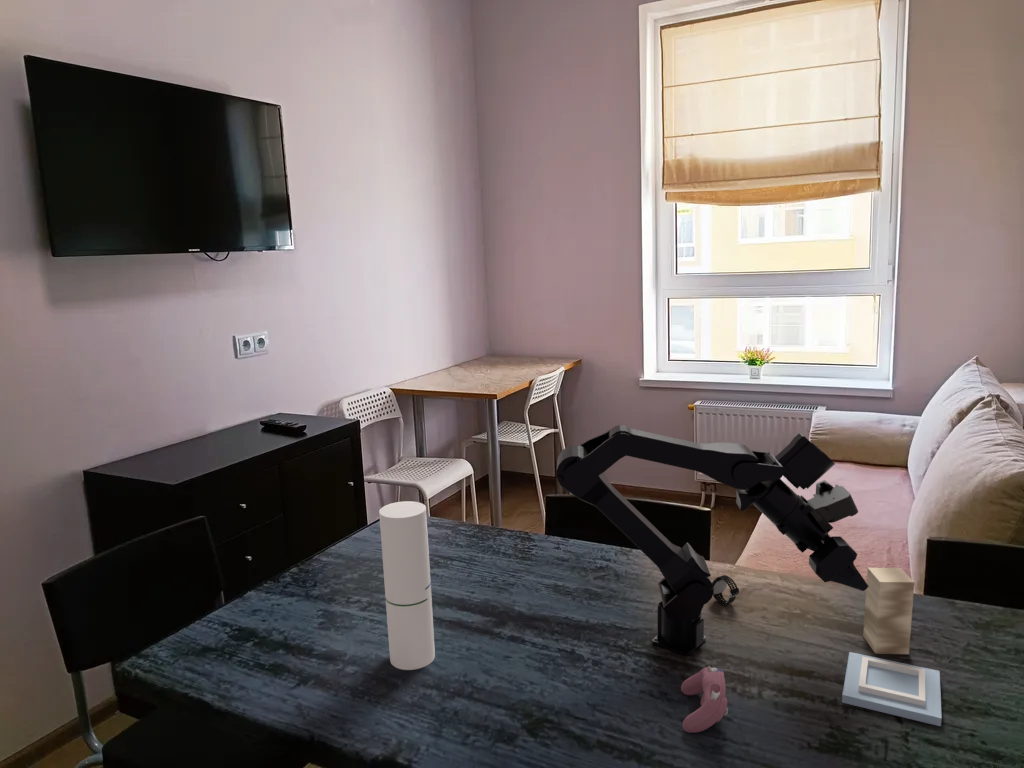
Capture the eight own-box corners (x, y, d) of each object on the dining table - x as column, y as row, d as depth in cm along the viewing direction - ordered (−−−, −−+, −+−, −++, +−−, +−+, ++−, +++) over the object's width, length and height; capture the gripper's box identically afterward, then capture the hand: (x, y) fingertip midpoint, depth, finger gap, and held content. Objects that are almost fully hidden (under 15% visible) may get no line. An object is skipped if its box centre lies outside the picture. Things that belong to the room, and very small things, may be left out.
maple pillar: (875, 653, 115) (879, 582, 113) (863, 636, 120) (867, 567, 118) (908, 654, 114) (914, 582, 112) (895, 637, 119) (900, 567, 117)
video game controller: (711, 748, 98) (737, 707, 96) (679, 731, 98) (704, 690, 96) (706, 702, 107) (730, 664, 105) (678, 687, 107) (701, 649, 106)
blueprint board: (841, 702, 103) (842, 689, 103) (849, 658, 114) (849, 647, 113) (940, 726, 98) (942, 712, 97) (938, 678, 108) (939, 666, 108)
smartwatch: (728, 596, 135) (729, 570, 134) (740, 609, 130) (741, 583, 129) (706, 598, 134) (707, 572, 133) (717, 612, 129) (718, 585, 128)
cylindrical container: (442, 648, 121) (433, 503, 116) (423, 673, 114) (413, 519, 109) (402, 642, 123) (393, 499, 118) (381, 665, 116) (370, 515, 112)
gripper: (845, 493, 104) (922, 567, 105) (805, 454, 122) (872, 517, 123) (785, 546, 106) (861, 617, 107) (755, 500, 124) (820, 562, 125)
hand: (854, 574), depth 115 cm, fingers open, 9 cm apart
